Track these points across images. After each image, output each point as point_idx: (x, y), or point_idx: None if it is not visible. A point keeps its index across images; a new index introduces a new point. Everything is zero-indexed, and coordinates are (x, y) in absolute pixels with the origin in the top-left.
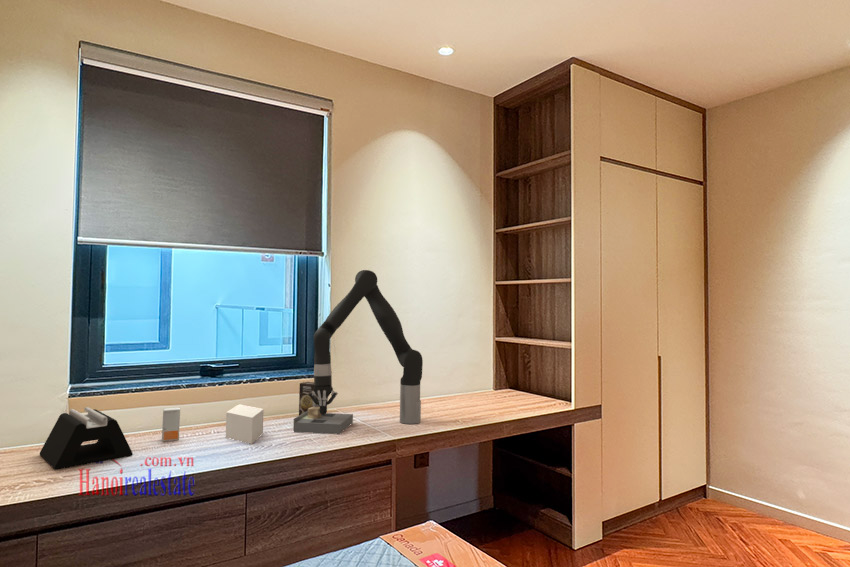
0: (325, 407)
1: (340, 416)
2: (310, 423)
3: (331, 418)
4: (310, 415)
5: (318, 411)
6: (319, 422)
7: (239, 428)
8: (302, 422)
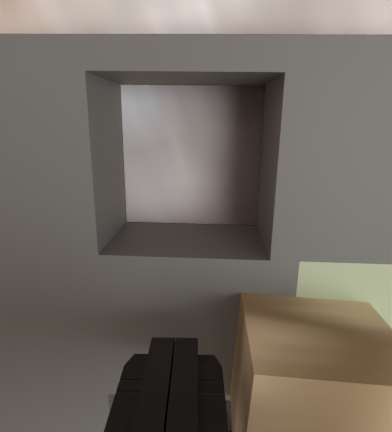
0: (114, 424)
1: (30, 418)
2: (257, 36)
3: (84, 325)
4: (345, 320)
5: (245, 376)
6: (203, 245)
7: None
8: (385, 51)
